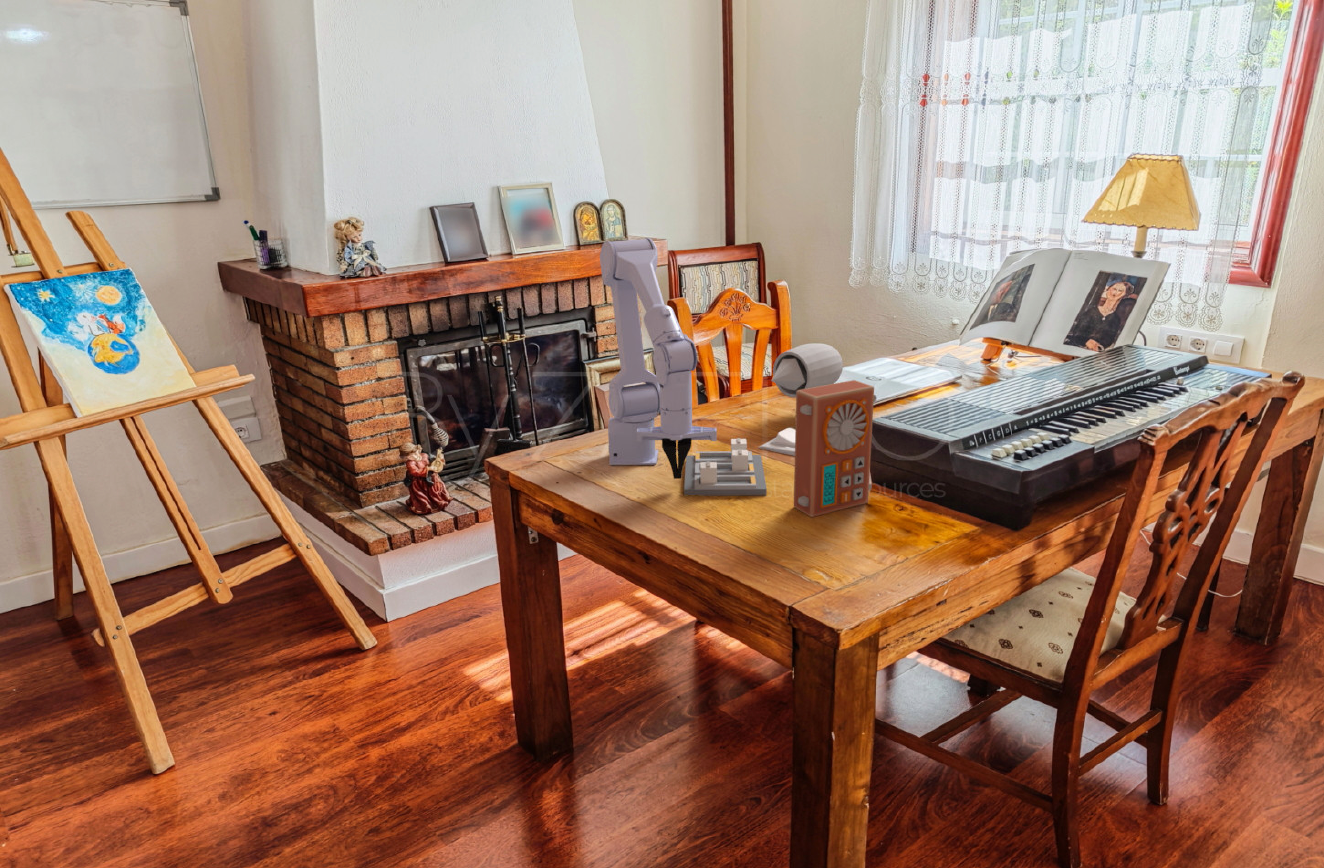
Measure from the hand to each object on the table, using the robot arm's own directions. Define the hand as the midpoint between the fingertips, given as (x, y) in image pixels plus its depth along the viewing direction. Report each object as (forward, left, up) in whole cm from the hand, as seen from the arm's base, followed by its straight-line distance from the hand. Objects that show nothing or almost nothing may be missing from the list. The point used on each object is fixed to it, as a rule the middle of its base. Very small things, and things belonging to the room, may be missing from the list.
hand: (677, 476), depth 162 cm
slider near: (+6, 0, -1) cm, 6 cm away
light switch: (+24, +24, -4) cm, 34 cm away
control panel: (+27, -7, -3) cm, 28 cm away
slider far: (+12, +13, -1) cm, 18 cm away
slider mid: (+12, +7, -1) cm, 13 cm away
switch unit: (+9, +7, -3) cm, 11 cm away
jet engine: (+27, +42, -3) cm, 50 cm away
